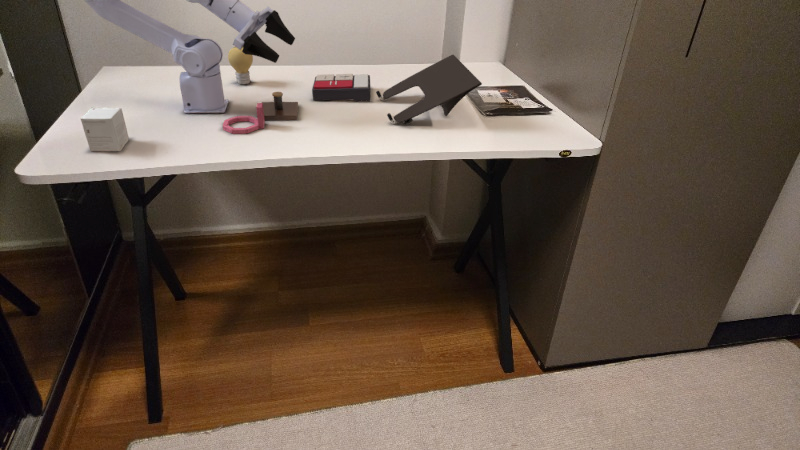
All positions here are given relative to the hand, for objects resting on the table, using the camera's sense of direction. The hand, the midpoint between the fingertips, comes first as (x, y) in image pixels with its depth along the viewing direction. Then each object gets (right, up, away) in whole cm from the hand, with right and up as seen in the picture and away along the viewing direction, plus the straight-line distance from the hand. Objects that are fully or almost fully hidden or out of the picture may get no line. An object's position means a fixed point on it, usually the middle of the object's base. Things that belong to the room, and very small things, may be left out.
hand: (285, 50), depth 119 cm
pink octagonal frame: (-11, -17, +2) cm, 20 cm away
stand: (-4, -12, +10) cm, 16 cm away
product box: (-35, -23, -8) cm, 43 cm away
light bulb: (-17, 0, +27) cm, 32 cm away
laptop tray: (+32, -10, +16) cm, 37 cm away
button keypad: (+10, -4, +23) cm, 25 cm away
